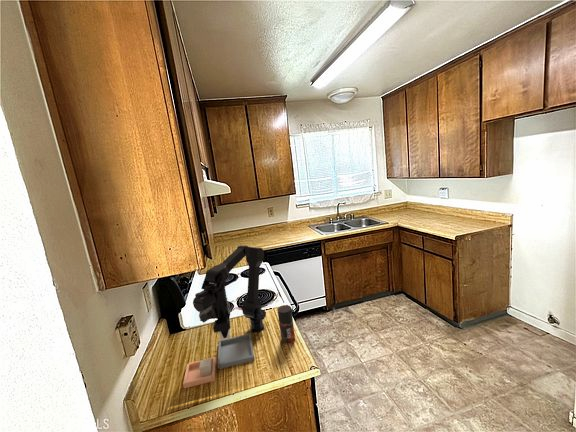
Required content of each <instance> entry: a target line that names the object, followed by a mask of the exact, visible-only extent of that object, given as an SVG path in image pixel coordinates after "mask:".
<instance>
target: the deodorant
mask: <svg viewBox="0 0 576 432" xmlns="http://www.w3.org/2000/svg"><path fill="white" fill-rule="evenodd" d="M277 315H278V322H279V323H278V324H279V331H280V340H281V343H282V344H286V345H289V344H291V345H292V343H293V344H294V343H295V342H296V335H295V328H294V319H293V310H292V307H291V306H290V305H286V304H285V305H281V306H279V307H278V308H277Z"/></svg>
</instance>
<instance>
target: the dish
mask: <svg viewBox="0 0 576 432" xmlns="http://www.w3.org/2000/svg"><path fill="white" fill-rule="evenodd" d="M210 358H211V361H212V366H213V368H212V375H209V376H204V377H201V374H200V369H199V367H200V361H201V359H200V360H196V361H191V362H187V365H186V368H185V374H184V378H183V382H182V386H183V389H187V388H188V389H189V388H191V387H192V388H193V387H195V386H199V385H203V384H206V383H207V384H208V383H211V382H214V381H216V369H217V367H216V366H217V360H216V359H217V357H215V356H213V357H209V358H205V359H203V360H206V359H210Z"/></svg>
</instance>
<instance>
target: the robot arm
mask: <svg viewBox="0 0 576 432" xmlns="http://www.w3.org/2000/svg"><path fill="white" fill-rule="evenodd" d="M244 258H245V261H246V263H247V265H248V277H247V279H248V280H247V294H246V295H247V296H246V298H245V301H242V303H241V306H242V307H241V311H242V314H243V315H244V317H245V318H246V319H249V322H250V325H249V326H250V333H251V334H256V333H261V332H263V331H265V330H266V328H265V324H264V322H263V321H264V320H265V318H266V317H267V312H266V311H265V310H264V309H262V303H261V301H260V298H259V287H260V285H259V284H260V267H261V265H262V264H263V262H264V258H265V251H264V250H263V248H262V247H254V246H248V245H238V246H237V247H236V249H235V250H233V252H232V253H230V254H229V255H228V256H227V257H226V259H224V260H223V261H222V262H220V263H218V264H216V265H214V266H212V267H211V268H209V269H208V270H207V271H206V273H205V277H204V279H203V282H202V285H201V290H202V291H200V292H197V293H195V294H194V295H195V297H194V298H193V301H192V304H193V307H194V309H195V311H197V312H198V317H199V321H200V322H202V323H206V322H207V321H210V320H211V319H212V318H213V319H214V322H213V325H212V330H213V333H219V332H220V331H221V333H222V335H223V337H224V338H226V339H228V338H227V334H228V331H229V329H230V330H231V319H230V317H231V311H230V310H231V304H230V302H229V301H228V297H227V293H226V292H227V291H226V287H227V286H229V284H230V283H229V282H227V280H228V279H229V275H230V272H231V271H232V270H233V269H234V268H235V267H236V266H237V265H238V264H240V262H241V261H242V260H243V259H244ZM215 319H216V320H215Z"/></svg>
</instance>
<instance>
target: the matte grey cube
mask: <svg viewBox="0 0 576 432" xmlns="http://www.w3.org/2000/svg"><path fill="white" fill-rule="evenodd" d="M209 358H210V359H208V358H205V359H206V360H204V359H202V360H201V359H200V360H201V361H200V360H199V361H200V367H199V369H200V374H201V377H204V376H209V375H212V368H213V366H212V361H211V358H212V357H209Z"/></svg>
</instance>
